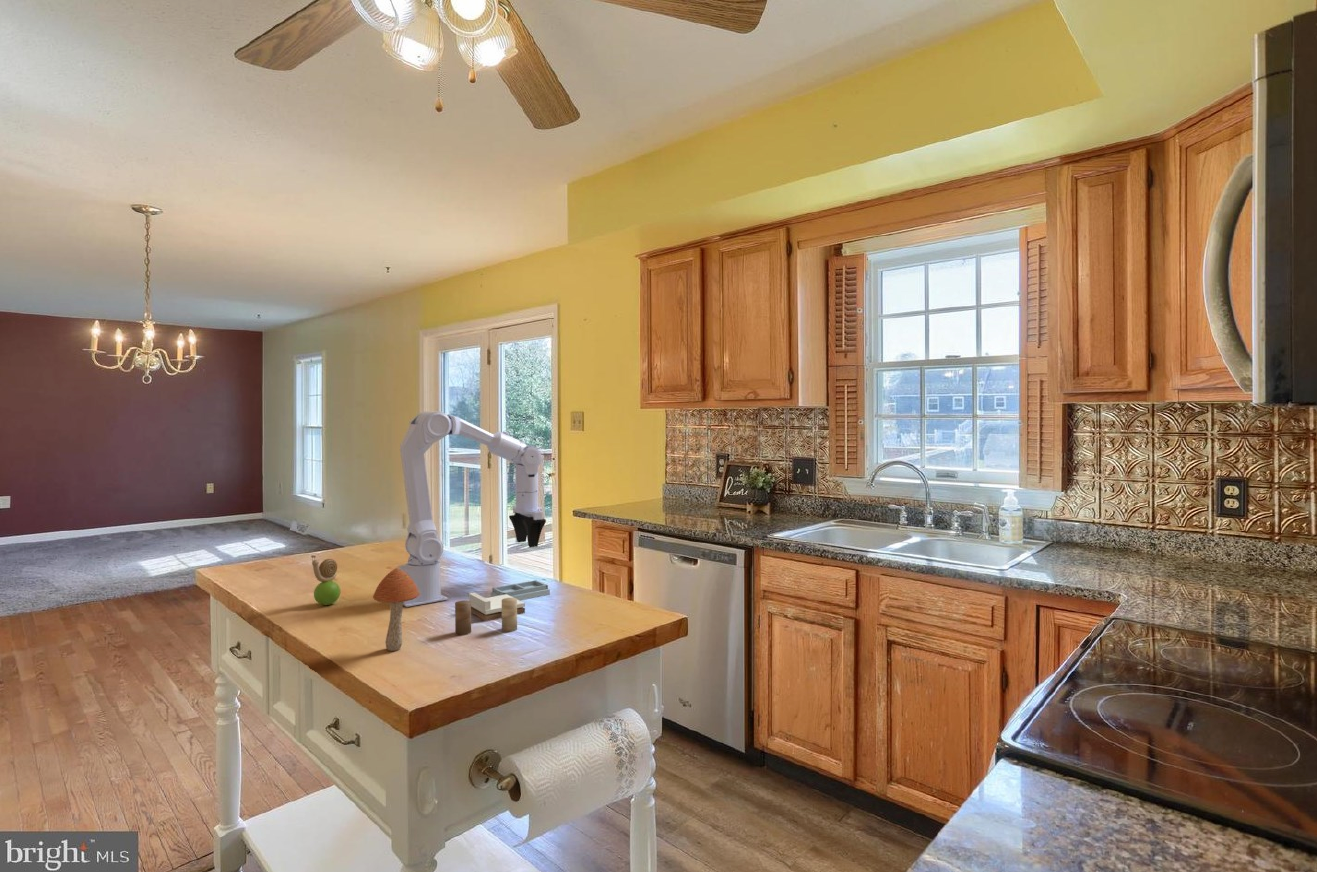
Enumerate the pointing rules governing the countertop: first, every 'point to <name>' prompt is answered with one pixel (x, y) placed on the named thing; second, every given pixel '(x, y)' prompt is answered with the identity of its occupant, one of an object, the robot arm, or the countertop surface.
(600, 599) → the countertop surface
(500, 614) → the board
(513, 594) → the socket board
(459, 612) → the walnut peg
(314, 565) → the snail figurine
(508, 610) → the maple peg
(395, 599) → the mushroom
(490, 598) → the cover
